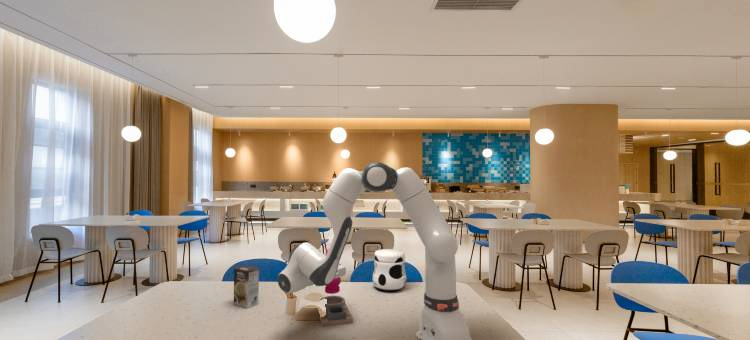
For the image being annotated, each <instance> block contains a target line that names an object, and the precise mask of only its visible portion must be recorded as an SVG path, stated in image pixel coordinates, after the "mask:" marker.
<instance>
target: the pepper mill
mask: <svg viewBox="0 0 750 340" xmlns="http://www.w3.org/2000/svg"><path fill="white" fill-rule="evenodd" d="M328 250H329V248H328V249H326V251H325V254H324V255H325V256H326V255H327V252H328ZM341 279H342V277H339V278H335V279H333V280H332V282H331V283H330V284H328V285H325V286H324V292H325V293H326V294H329V295H334V294H338V293H339V292H341V291H340V290H341V288H340V286H339V285H340V284H341V283H342V280H341Z"/></svg>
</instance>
